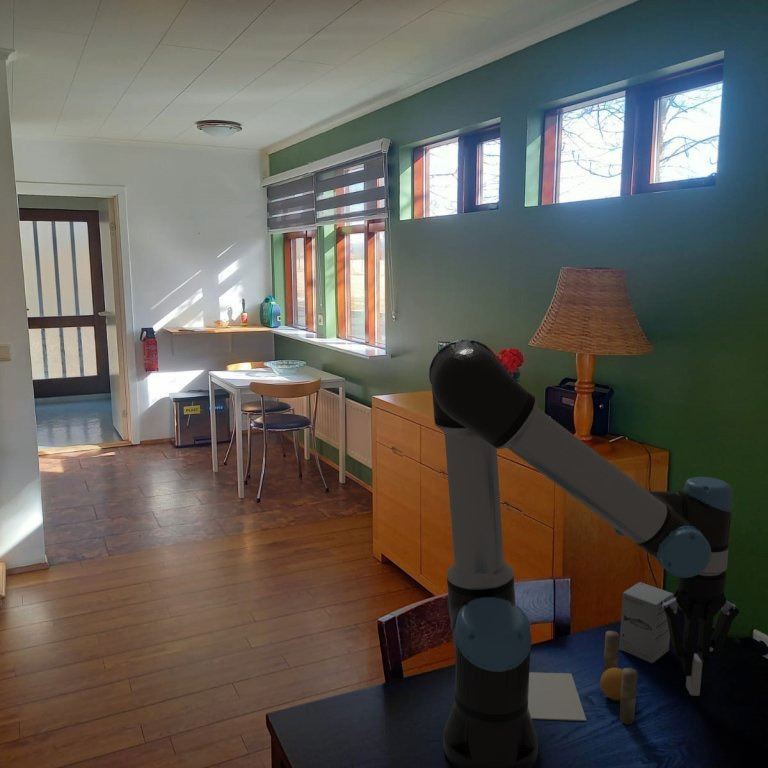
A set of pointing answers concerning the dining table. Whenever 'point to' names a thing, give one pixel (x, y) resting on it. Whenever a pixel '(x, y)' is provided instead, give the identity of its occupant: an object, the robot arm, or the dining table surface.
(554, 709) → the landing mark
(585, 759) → the dining table surface
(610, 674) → the ball
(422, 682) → the dining table surface
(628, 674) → the right post
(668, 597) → the supplement box
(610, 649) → the left post
